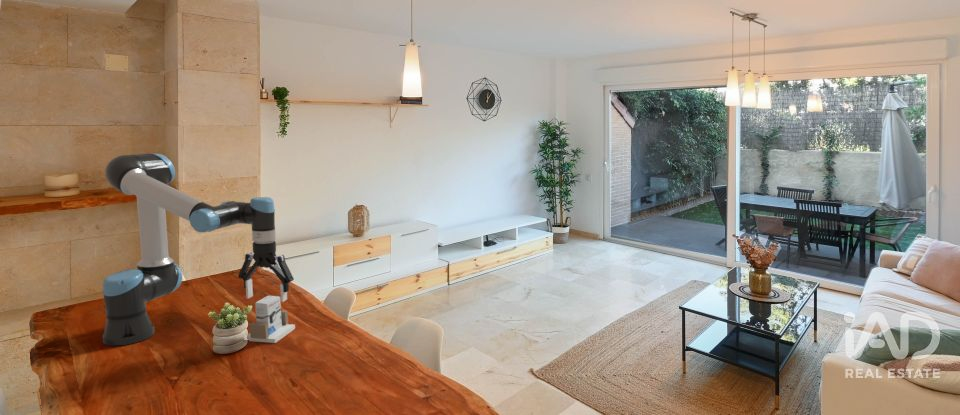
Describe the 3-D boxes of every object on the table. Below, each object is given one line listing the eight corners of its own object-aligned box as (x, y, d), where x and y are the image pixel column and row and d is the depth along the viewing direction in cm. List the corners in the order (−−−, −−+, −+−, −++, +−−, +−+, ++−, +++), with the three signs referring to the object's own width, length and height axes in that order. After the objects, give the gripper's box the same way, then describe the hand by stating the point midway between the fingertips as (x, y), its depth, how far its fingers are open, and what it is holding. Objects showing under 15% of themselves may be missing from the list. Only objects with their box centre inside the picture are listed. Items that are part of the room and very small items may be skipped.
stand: (243, 341, 175) (241, 323, 174) (266, 325, 188) (265, 309, 187) (274, 343, 173) (273, 326, 172) (295, 327, 186) (294, 311, 185)
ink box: (269, 335, 176) (266, 303, 174) (256, 334, 177) (254, 302, 175) (282, 326, 184) (280, 295, 182) (270, 325, 185) (268, 295, 183)
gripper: (225, 241, 173) (228, 299, 177) (290, 246, 169) (293, 305, 173) (239, 236, 181) (242, 292, 184) (302, 241, 177) (304, 298, 180)
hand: (266, 298), depth 178 cm, fingers open, 13 cm apart
